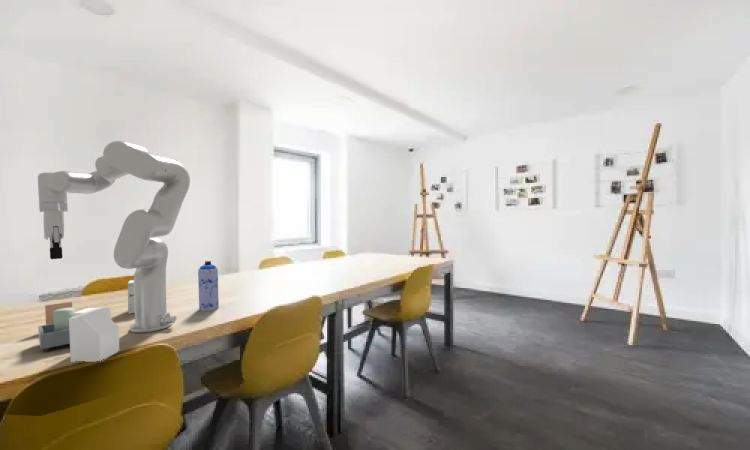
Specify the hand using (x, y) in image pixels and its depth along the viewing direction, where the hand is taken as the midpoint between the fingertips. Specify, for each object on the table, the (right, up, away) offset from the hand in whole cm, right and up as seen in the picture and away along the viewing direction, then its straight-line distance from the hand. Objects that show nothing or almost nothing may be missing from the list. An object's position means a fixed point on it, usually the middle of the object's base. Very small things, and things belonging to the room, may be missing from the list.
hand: (56, 258), depth 128 cm
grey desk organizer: (+13, -24, -12) cm, 30 cm away
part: (+19, -22, -18) cm, 34 cm away
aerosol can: (+45, -23, +22) cm, 55 cm away
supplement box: (+17, -24, +19) cm, 35 cm away
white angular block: (+34, -25, -26) cm, 50 cm away
